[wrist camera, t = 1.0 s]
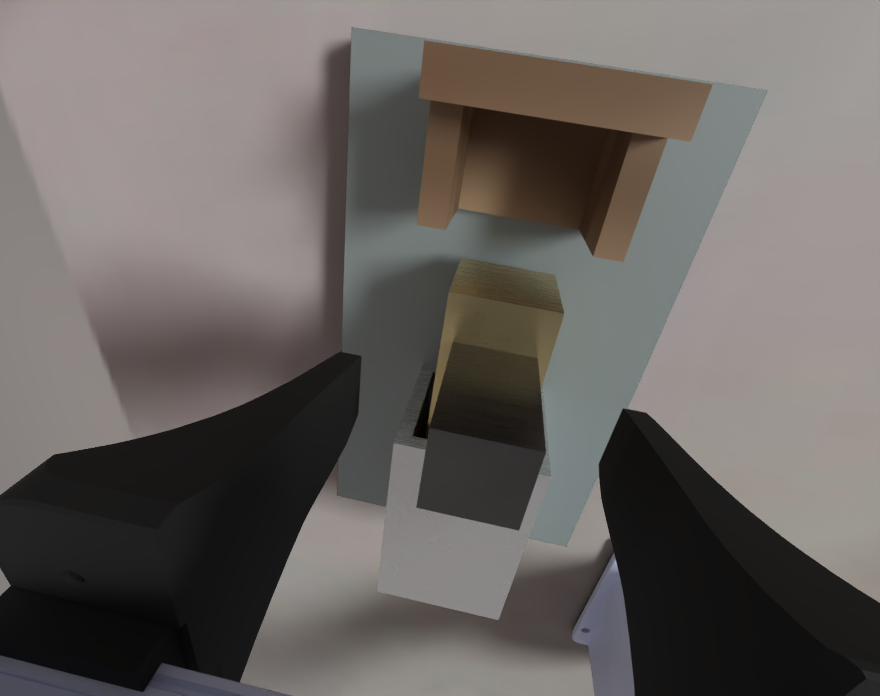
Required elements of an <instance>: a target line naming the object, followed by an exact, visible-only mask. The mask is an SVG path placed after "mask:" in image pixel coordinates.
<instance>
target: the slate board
mask: <svg viewBox="0 0 880 696" xmlns="http://www.w3.org/2000/svg"><path fill="white" fill-rule="evenodd" d="M424 40H425V41H431V42H438V43H445V44H451V45H458V46H464V47H471V48H477V49H484V50H491V51H497V52H504V53H510V54H517V55H523V56H530V57H537V58H543V59H550V60H556V61H563V62H570V63H576V64H583V65H589V66H596V67H602V68H609V69H616V70H622V71H629V72H635V73H642V74H648V75H655V76H662V77H668V78H675V79H681V80H688V81H694V82H701V83H708V84H713V85H712V88H711V91H710V93H709V96H708V98H707V101H706V104H705V106H704V109H703V111H702V114H701V117H700V119H699V122H698V124H697V127H696V130H695V132H694V135H693V137H692V140H691V142H688V141H682V140H676V139H669V138H668V140H667V142H666V145H665V148H664V151H663V154H662V156H661V159H660V162H659V165H658V167H657V170H656V173H655V176H654V179H653V181H652V184H651V187H650V190H649V192H648V195H647V198H646V201H645V204H644V206H643V209H642V212H641V215H640V217H639V220H638V223H637V226H636V228H635V231H634V234H633V237H632V240H631V242H630V245H629V248H628V251H627V253H626V256H625V259H624V262H620V261H614V260H608V259H603V258H597V257H593V256H592V254H591V252H590V250H589V248H588V246H587V244H586V242H585V240H584V238H583V237H582V235H581V233H580V231H579V230H578V229H572V228H566V227H561V226H555V225H549V224H544V223H538V222H532V221H527V220H521V219H515V218H510V217H504V216H498V215H493V214H487V213H481V212H476V211H470V210H464V209H459V208H458V210H457V211H456V213H455V215H454V216H453V218H452V220H451V221H450V223H449V225H448V227H447V228H446V230H442V229H437V228H431V227H425V226H420V225H417V218H418V209H419V200H420V191H421V182H422V173H423V164H424V155H425V146H426V137H427V128H428V119H429V110H430V101H431V100H427V99H421V98H419V88H420V78H421V68H422V58H423V48H424ZM767 91H768V90H762V89H756V88H749V87H743V86H736V85H729V84H723V83H716V82H710V81H703V80H696V79H690V78H683V77H677V76H670V75H663V74H657V73H650V72H644V71H637V70H630V69H624V68H617V67H611V66H604V65H598V64H591V63H584V62H578V61H571V60H565V59H558V58H551V57H545V56H538V55H532V54H525V53H518V52H512V51H505V50H499V49H492V48H485V47H479V46H472V45H466V44H459V43H452V42H446V41H439V40H433V39H426V38H420V37H413V36H406V35H400V34H393V33H387V32H380V31H373V30H367V29H360V28H354V27H352V29H351V61H350V93H349V125H348V157H347V189H346V221H345V254H344V286H343V318H342V350H341V352H345V353H350V354H355V355H360V356H362V359H361V376H360V394H359V412H358V416H357V419H356V421H355V424H354V427H353V429H352V432H351V434H350V437H349V439H348V442H347V444H346V446H345V448H344V450H343V451H342V453H341V455H340V457H339V459H338V478H337V496H342V497H346V498H351V499H355V500H360V501H364V502H368V503H373V504H377V505H382V506H386V505H387V497H388V488H389V479H390V470H391V461H392V453H393V444H394V441H395V438H396V435H397V432H398V430H399V427H400V424H401V422H402V419H403V416H404V413H405V411H406V408H407V405H408V403H409V400H410V397H411V394H412V392H413V389H414V386H415V383H416V381H417V378H418V375H419V373H420V370H421V367H422V364H423V363H424V364H429V365H434V366H437V362H438V356H439V350H440V343H441V337H442V331H443V325H444V318H445V312H446V306H447V300H448V293H449V290H450V287H451V284H452V282H453V279H454V276H455V274H456V271H457V268H458V266H459V263H460V260H461V258H466V259H471V260H477V261H482V262H487V263H493V264H498V265H504V266H509V267H515V268H520V269H525V270H531V271H536V272H542V273H547V274H553V275H555V276H556V280H557V284H558V288H559V293H560V297H561V301H562V305H563V310H564V317H563V320H562V323H561V327H560V330H559V333H558V336H557V340H556V343H555V346H554V349H553V352H552V356H551V359H550V362H549V365H548V369H547V372H546V375H545V378H544V382H543V385H542V387H543V395H544V406H545V416H546V427H547V437H548V448H549V458H550V468H551V479H550V482H549V484H548V487H547V490H546V493H545V495H544V498H543V501H542V503H541V506H540V509H539V512H538V514H537V517H536V520H535V522H534V525H533V528H532V531H531V533H530V536H529V539H534V540H538V541H542V542H547V543H551V544H556V545H560V546H565V547H567V545H568V542H569V540H570V538H571V536H572V533H573V531H574V529H575V527H576V524H577V522H578V520H579V518H580V515H581V513H582V511H583V508H584V506H585V504H586V502H587V499H588V497H589V495H590V493H591V490H592V488H593V486H594V484H595V481H596V479H597V477H598V474H599V465H598V464H599V462H600V460H601V457H602V455H603V453H604V450H605V448H606V446H607V443H608V441H609V439H610V437H611V434H612V432H613V430H614V427H615V425H616V423H617V421H618V418H619V416H620V414H621V411H622V409H623V408H624V409H628V406H629V404H630V402H631V400H632V397H633V395H634V393H635V391H636V388H637V386H638V384H639V382H640V379H641V377H642V375H643V372H644V370H645V368H646V366H647V363H648V361H649V359H650V357H651V354H652V352H653V350H654V348H655V345H656V343H657V341H658V338H659V336H660V334H661V332H662V329H663V327H664V325H665V323H666V320H667V318H668V316H669V314H670V311H671V309H672V307H673V305H674V302H675V300H676V298H677V295H678V293H679V291H680V289H681V286H682V284H683V282H684V280H685V277H686V275H687V273H688V271H689V268H690V266H691V264H692V261H693V259H694V257H695V255H696V252H697V250H698V248H699V246H700V243H701V241H702V239H703V237H704V234H705V232H706V230H707V227H708V225H709V223H710V221H711V218H712V216H713V214H714V212H715V209H716V207H717V205H718V203H719V200H720V198H721V196H722V193H723V191H724V189H725V187H726V184H727V182H728V180H729V178H730V175H731V173H732V171H733V169H734V166H735V164H736V162H737V159H738V157H739V155H740V153H741V150H742V148H743V146H744V144H745V141H746V139H747V137H748V135H749V132H750V130H751V128H752V125H753V123H754V121H755V119H756V116H757V114H758V112H759V110H760V107H761V105H762V103H763V101H764V98H765V96H766V94H767Z"/></svg>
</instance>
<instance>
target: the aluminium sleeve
mask: <svg viewBox="0 0 880 696" xmlns="http://www.w3.org/2000/svg"><path fill="white" fill-rule="evenodd" d="M436 368H437V366H434V365H429V364H424V363H423V364H422V367H421V370H420V373H419V375H418V378H417V381H416V383H415V386H414V389H413V392H412V394H411V397H410V400H409V403H408V405H407V408H406V411H405V413H404V416H403V419H402V422H401V424H400V427H399V430H398V432H397V435H396V438H395V441H394V444H393V453H392V461H391V470H390V479H389V488H388V497H387V505H386V514H385V523H384V532H383V541H382V549H381V558H380V567H379V576H378V585H377V592H382V593H386V594H390V595H394V596H398V597H403V598H407V599H411V600H415V601H419V602H424V603H428V604H432V605H436V606H440V607H445V608H449V609H453V610H457V611H462V612H466V613H470V614H474V615H478V616H483V617H487V618H491V619H495V620H499V617H500V615H501V612H502V609H503V607H504V604H505V601H506V598H507V596H508V593H509V590H510V588H511V585H512V582H513V579H514V577H515V574H516V571H517V569H518V566H519V563H520V560H521V558H522V555H523V552H524V550H525V547H526V544H527V541H528V539H529V536H530V533H531V531H532V528H533V525H534V522H535V520H536V517H537V514H538V512H539V509H540V506H541V503H542V501H543V498H544V495H545V493H546V490H547V487H548V484H549V482H550V479H551V468H550V458H549V448H548V437H547V427H546V416H545V406H544V395H543V387H542V388H541V399H542V411H543V422H544V434H545V445H546V454H545V457H544V460H543V463H542V466H541V469H540V472H539V475H538V477H537V480H536V483H535V486H534V489H533V492H532V495H531V498H530V501H529V503H528V506H527V509H526V512H525V515H524V518H523V521H522V524H521V526H520V529H519V531H518V530H514V529H509V528H505V527H500V526H496V525H491V524H487V523H482V522H478V521H473V520H469V519H464V518H460V517H455V516H451V515H446V514H442V513H437V512H433V511H429V510H424V509H420V508H416V506H417V500H418V494H419V488H420V482H421V476H422V469H423V463H424V457H425V451H426V445H427V439H425V437H426V431H427V425H428V418H429V412H430V406H431V400H432V393H433V387H434V381H435V375H436Z"/></svg>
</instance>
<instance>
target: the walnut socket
mask: <svg viewBox="0 0 880 696" xmlns="http://www.w3.org/2000/svg"><path fill="white" fill-rule="evenodd" d="M712 85H713V84H708V83H701V82H694V81H688V80H681V79H675V78H668V77H662V76H655V75H648V74H642V73H635V72H629V71H622V70H616V69H609V68H602V67H596V66H589V65H583V64H576V63H570V62H563V61H556V60H550V59H543V58H537V57H530V56H523V55H517V54H510V53H504V52H497V51H491V50H484V49H477V48H471V47H464V46H458V45H451V44H445V43H438V42H431V41H425V40H424V48H423V58H422V68H421V78H420V88H419V98H421V99H427V100H431V101H430V110H429V119H428V128H427V137H426V146H425V155H424V164H423V173H422V182H421V191H420V200H419V209H418V218H417V225H420V226H425V227H431V228H437V229H442V230H446V228H447V227H448V225H449V223H450V221H451V220H452V218H453V216H454V215H455V213H456V211H457V210H458V208H459V209H464V210H470V211H476V212H481V213H487V214H493V215H498V216H504V217H510V218H515V219H521V220H527V221H532V222H538V223H544V224H549V225H555V226H561V227H566V228H572V229H578V230H579V231H580V233H581V235H582V237H583V238H584V240H585V242H586V244H587V246H588V248H589V250H590V252H591V254H592V256H593V257H597V258H603V259H608V260H614V261H620V262H624V259H625V256H626V253H627V251H628V248H629V245H630V242H631V240H632V237H633V234H634V231H635V228H636V226H637V223H638V220H639V217H640V215H641V212H642V209H643V206H644V204H645V201H646V198H647V195H648V192H649V190H650V187H651V184H652V181H653V179H654V176H655V173H656V170H657V167H658V165H659V162H660V159H661V156H662V154H663V151H664V148H665V145H666V142H667V140H668V138H669V139H676V140H682V141H688V142H691V140H692V137H693V135H694V132H695V130H696V127H697V124H698V122H699V119H700V117H701V114H702V111H703V109H704V106H705V104H706V101H707V98H708V96H709V93H710V91H711V88H712Z"/></svg>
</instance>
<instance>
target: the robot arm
mask: <svg viewBox="0 0 880 696" xmlns="http://www.w3.org/2000/svg"><path fill="white" fill-rule="evenodd" d="M361 359H362V356H360V355H355V354H350V353H345V352H339V353H337V354H335V355H334V356H332V357H330V358H329V359H327V360H325V361H324V362H322V363H320V364H319V365H317V366H315V367H314V368H312V369H310V370H309V371H307V372H305V373H303V374H302V375H300V376H298V377H296V378H295V379H293V380H291V381H289V382H288V383H286V384H284V385H282V386H280V387H278V388H276V389H274V390H272V391H270V392H268V393H266V394H264V395H262V396H260V397H258V398H256V399H254V400H252V401H250V402H247V403H245V404H243V405H241V406H238V407H236V408H233V409H231V410H228V411H226V412H223V413H221V414H218V415H215V416H212V417H209V418H206V419H203V420H200V421H197V422H194V423H191V424H188V425H185V426H182V427H179V428H176V429H172V430H169V431H165V432H161V433H158V434H154V435H150V436H146V437H142V438H138V439H134V440H129V441H125V442H120V443H116V444H111V445H106V446H100V447H95V448H90V449H84V450H79V451H73V452H68V453H61V454H55V455H53V456H52V457H50V458H49V459H47V460H46V461H45V462H43V463H42V464H41V465H40V466H38V467H37V468H36V469H34V470H33V471H32V472H30V473H29V474H28V475H26V476H25V477H24V478H22V479H21V480H20V481H18V482H17V483H16V484H14V485H13V486H12V487H10V488H9V489H8V490H6V491H5V492H4V493H3V494H1V495H0V568H1V570H2V572H3V573H4V575H5V577H6V578H7V580H8V582H9V583H10V585H11V586H10V587H9V588H8V589H7V590H6V591H5V592H4V593H3V594H2V595H1V596H0V696H291V695H287V694H283V693H279V692H275V691H271V690H267V689H263V688H259V687H255V686H251V685H247V684H243V683H240V680H241V677H242V674H243V672H244V669H245V666H246V664H247V661H248V658H249V656H250V653H251V650H252V647H253V645H254V642H255V639H256V637H257V634H258V632H259V629H260V627H261V624H262V621H263V619H264V616H265V614H266V611H267V609H268V606H269V604H270V601H271V598H272V596H273V593H274V591H275V589H276V586H277V584H278V581H279V579H280V576H281V574H282V572H283V569H284V567H285V564H286V562H287V559H288V557H289V555H290V552H291V550H292V548H293V545H294V543H295V541H296V539H297V536H298V534H299V532H300V529H301V527H302V525H303V523H304V521H305V519H306V517H307V515H308V513H309V511H310V509H311V507H312V505H313V503H314V502H315V500H316V498H317V496H318V494H319V493H320V491H321V489H322V487H323V486H324V484H325V482H326V480H327V478H328V477H329V475H330V473H331V471H332V470H333V468H334V466H335V464H336V462H337V461H338V459H339V457H340V455H341V453H342V451H343V450H344V448H345V446H346V444H347V442H348V439H349V437H350V434H351V432H352V429H353V427H354V424H355V421H356V419H357V416H358V412H359V394H360V376H361ZM598 465H599V478H600V489H601V499H602V503H603V508H604V512H605V516H606V521H607V525H608V529H609V534H610V538H611V542H612V546H613V550H614V554H613V556H612V557H611V559H610V561H609V563H608V565H607V567H606V569H605V571H604V572H603V574H602V576H601V578H600V580H599V582H598V584H597V586H596V588H595V589H594V591H593V593H592V595H591V597H590V599H589V601H588V603H587V605H586V606H585V608H584V610H583V612H582V614H581V616H580V618H579V620H578V621H577V623H576V625H575V627H574V629H573V631H572V639H573V640H574V641H575V642H576V643H579V644H584V645H588V649H589V656H590V664H591V671H592V679H593V686H594V694H595V696H880V603H879V602H877V601H876V600H874V599H872V598H871V597H869V596H868V595H866V594H864V593H863V592H861V591H860V590H858V589H856V588H855V587H853V586H852V585H850V584H849V583H847V582H846V581H844V580H843V579H841V578H840V577H838V576H837V575H835V574H834V573H832V572H831V571H829V570H828V569H826V568H825V567H823V566H822V565H821V564H819V563H818V562H816V561H815V560H813V559H812V558H811V557H809V556H808V555H806V554H805V553H803V552H802V551H801V550H799V549H798V548H796V547H795V546H794V545H792V544H791V543H790V542H788V541H787V540H786V539H784V538H783V537H782V536H780V535H779V534H778V533H777V532H775V531H774V530H773V529H772V528H770V527H769V526H768V525H766V524H765V523H764V522H763V521H761V520H760V519H759V518H758V517H756V516H755V515H754V514H753V513H751V512H750V511H749V510H748V509H747V508H746V507H744V506H743V505H742V504H741V503H740V502H739V501H737V500H736V499H735V498H734V497H733V496H732V495H731V494H730V493H729V492H727V491H726V490H725V489H724V488H723V487H722V486H721V485H720V484H719V483H717V482H716V481H715V480H714V479H713V478H712V477H711V476H710V475H709V474H708V473H707V472H706V471H705V470H704V469H703V468H702V467H701V466H700V465H699V464H698V463H697V462H696V461H695V460H694V459H693V458H692V457H691V456H690V455H689V454H688V453H687V452H686V451H685V450H684V449H683V448H682V447H681V446H680V445H679V444H678V443H677V442H676V441H675V440H674V439H673V438H672V437H671V436H670V435H669V434H668V433H667V432H666V431H665V430H664V429H663V428H662V427H661V426H660V425H659V424H658V423H657V422H656V421H655V420H654V419H652V418H651V417H650V416H649V415H648V414H647V413H644V412H639V411H634V410H629V409H624V408H623V409H622V411H621V414H620V416H619V418H618V421H617V423H616V425H615V427H614V430H613V432H612V434H611V437H610V439H609V441H608V443H607V446H606V448H605V450H604V453H603V455H602V457H601V460H600V462H599V464H598Z"/></svg>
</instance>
